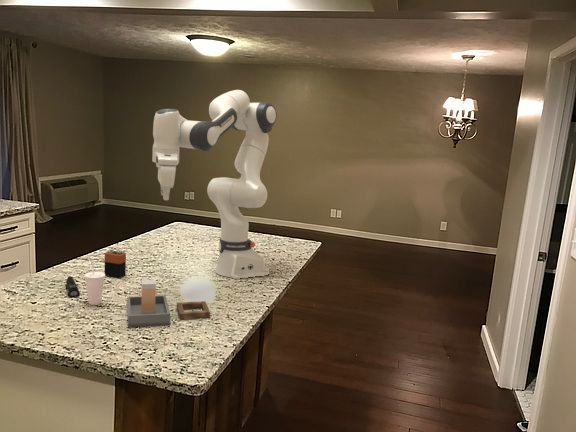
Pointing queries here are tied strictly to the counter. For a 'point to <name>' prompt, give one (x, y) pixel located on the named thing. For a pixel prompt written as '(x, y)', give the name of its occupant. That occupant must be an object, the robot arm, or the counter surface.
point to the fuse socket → (192, 314)
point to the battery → (115, 263)
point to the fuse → (148, 296)
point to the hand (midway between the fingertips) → (164, 197)
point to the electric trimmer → (72, 288)
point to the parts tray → (148, 319)
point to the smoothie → (94, 286)
